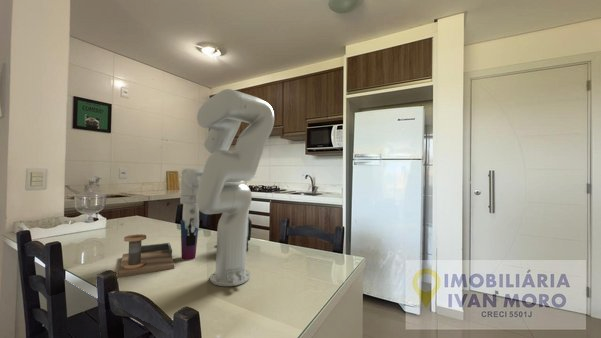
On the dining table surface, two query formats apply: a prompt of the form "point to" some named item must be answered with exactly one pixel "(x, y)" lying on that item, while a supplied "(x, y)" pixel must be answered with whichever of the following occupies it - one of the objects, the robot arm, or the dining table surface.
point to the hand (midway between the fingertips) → (188, 242)
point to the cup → (186, 251)
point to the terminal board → (145, 257)
